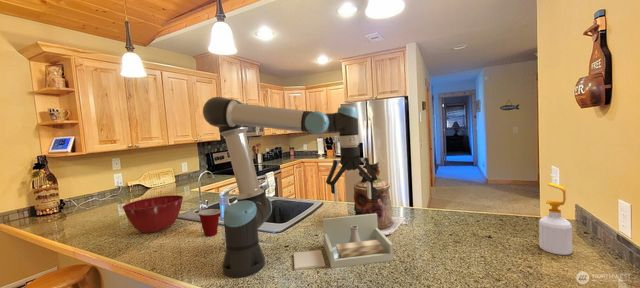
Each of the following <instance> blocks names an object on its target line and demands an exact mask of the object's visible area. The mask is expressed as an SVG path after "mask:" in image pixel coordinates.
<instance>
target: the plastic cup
mask: <svg viewBox="0 0 640 288" xmlns="http://www.w3.org/2000/svg"><path fill="white" fill-rule="evenodd" d="M221 212H222V210H221V209H217V208H208V209H202V210H199V211H198V212H197V214H198V216H199V220H200V223H201V227H202V230H203V234H204V236H205V237H213V236H216V235H217V233H218V227H219V222H220V220H219V219H220V214H221Z"/></svg>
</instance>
